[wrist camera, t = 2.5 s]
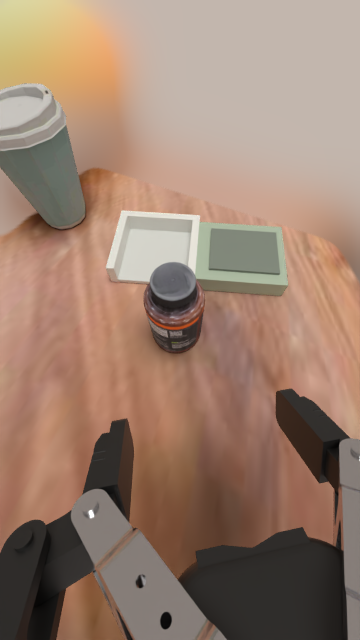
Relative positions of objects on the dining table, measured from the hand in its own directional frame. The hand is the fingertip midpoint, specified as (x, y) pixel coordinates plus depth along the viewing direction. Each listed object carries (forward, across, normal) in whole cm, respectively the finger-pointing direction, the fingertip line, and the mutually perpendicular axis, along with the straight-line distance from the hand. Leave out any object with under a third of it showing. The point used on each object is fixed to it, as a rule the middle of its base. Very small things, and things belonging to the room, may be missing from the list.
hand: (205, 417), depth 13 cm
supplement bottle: (+18, 0, -2) cm, 19 cm away
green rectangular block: (+25, +10, +4) cm, 27 cm away
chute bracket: (+27, -1, +6) cm, 28 cm away
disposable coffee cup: (+35, -14, +14) cm, 40 cm away
